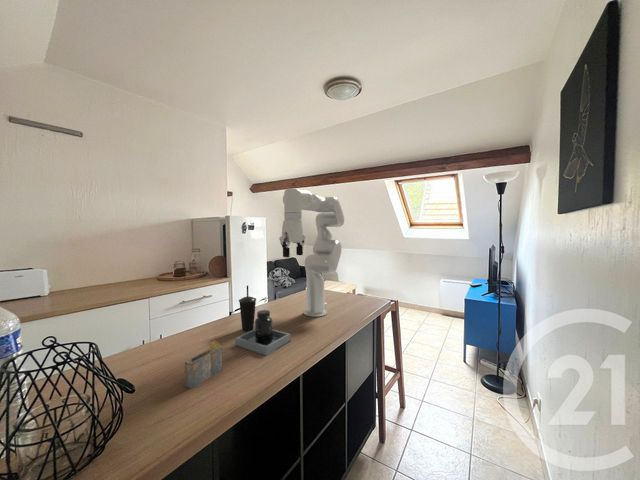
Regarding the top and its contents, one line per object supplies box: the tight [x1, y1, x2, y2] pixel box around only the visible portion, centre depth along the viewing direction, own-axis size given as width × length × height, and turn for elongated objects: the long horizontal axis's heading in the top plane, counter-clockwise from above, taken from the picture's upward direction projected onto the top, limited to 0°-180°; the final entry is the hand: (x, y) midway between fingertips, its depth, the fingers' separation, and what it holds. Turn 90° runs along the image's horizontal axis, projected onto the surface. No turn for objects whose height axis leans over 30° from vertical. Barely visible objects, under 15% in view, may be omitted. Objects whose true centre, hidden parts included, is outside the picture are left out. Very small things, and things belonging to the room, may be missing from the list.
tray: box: [235, 328, 292, 357], centre depth 103 cm, size 14×16×3 cm
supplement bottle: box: [254, 309, 274, 345], centre depth 103 cm, size 7×7×12 cm
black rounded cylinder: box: [238, 285, 257, 333], centre depth 117 cm, size 8×8×20 cm
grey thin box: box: [184, 339, 223, 389], centre depth 79 cm, size 11×3×10 cm, turn 154°
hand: (293, 256), depth 115 cm, fingers open, 9 cm apart
